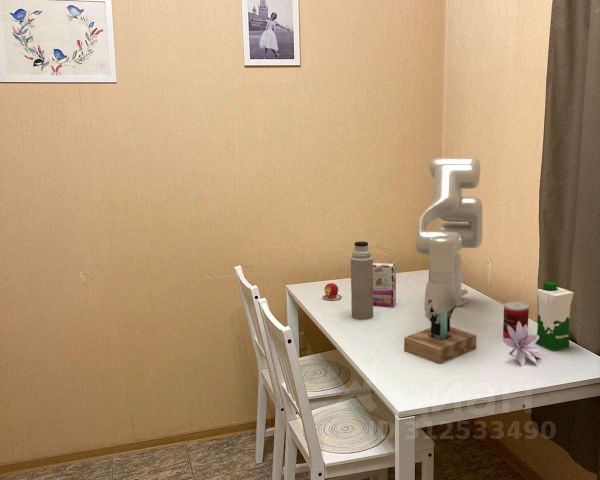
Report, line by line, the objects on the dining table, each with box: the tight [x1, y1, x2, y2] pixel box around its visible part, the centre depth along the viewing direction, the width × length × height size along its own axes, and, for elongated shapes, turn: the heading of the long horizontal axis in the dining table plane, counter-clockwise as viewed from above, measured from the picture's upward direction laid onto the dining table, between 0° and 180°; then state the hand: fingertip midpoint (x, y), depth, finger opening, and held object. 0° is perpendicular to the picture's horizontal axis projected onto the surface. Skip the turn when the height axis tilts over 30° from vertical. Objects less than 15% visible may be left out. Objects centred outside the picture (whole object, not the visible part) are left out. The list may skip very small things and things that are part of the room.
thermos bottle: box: [350, 241, 374, 321], centre depth 228 cm, size 8×8×28 cm
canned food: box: [502, 301, 530, 341], centre depth 204 cm, size 8×8×11 cm
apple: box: [321, 282, 343, 301], centre depth 253 cm, size 8×8×6 cm
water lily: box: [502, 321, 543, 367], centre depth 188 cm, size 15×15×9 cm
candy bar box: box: [373, 261, 397, 308], centre depth 242 cm, size 11×5×16 cm, turn 68°
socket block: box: [403, 326, 477, 364], centre depth 197 cm, size 18×14×4 cm
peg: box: [434, 311, 447, 340], centre depth 195 cm, size 4×4×16 cm
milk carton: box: [535, 281, 575, 352], centre depth 195 cm, size 9×9×20 cm
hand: (440, 331), depth 196 cm, fingers closed on peg, 4 cm apart
